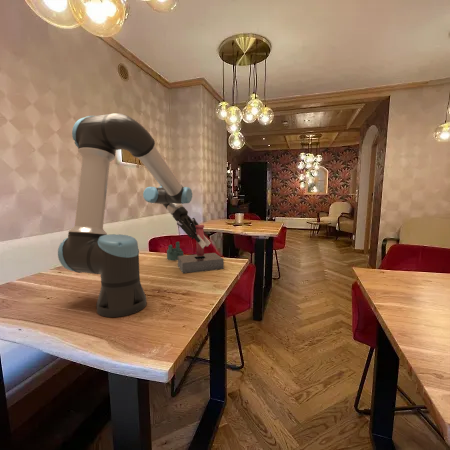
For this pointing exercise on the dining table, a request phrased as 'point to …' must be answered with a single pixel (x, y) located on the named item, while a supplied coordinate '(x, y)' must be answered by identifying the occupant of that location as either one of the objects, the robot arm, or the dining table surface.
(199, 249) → the pin
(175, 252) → the green knobbed block
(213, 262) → the socket block
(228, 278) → the dining table surface
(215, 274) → the dining table surface
